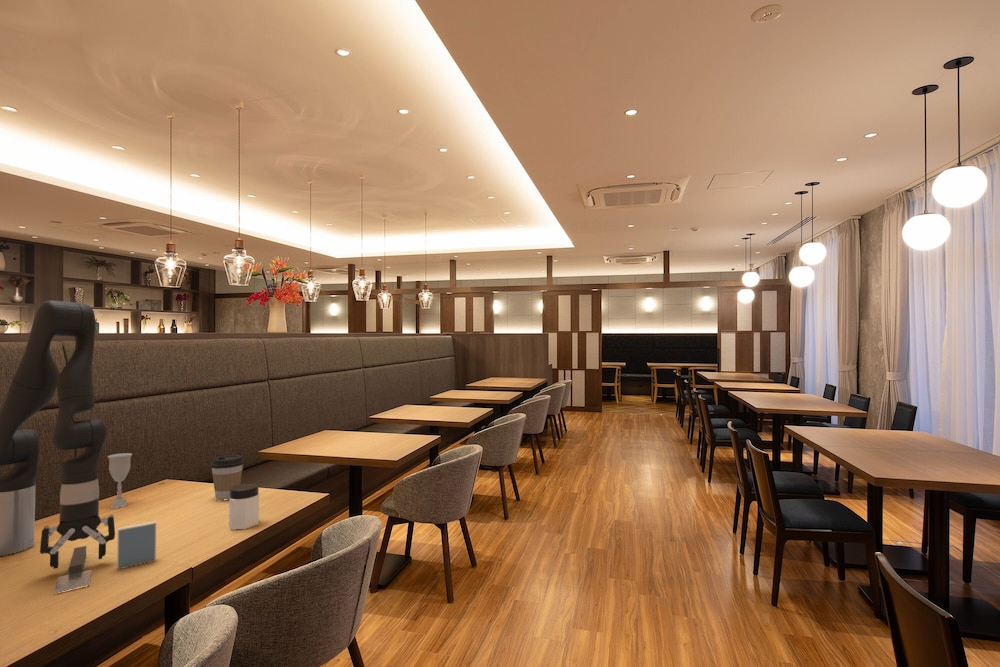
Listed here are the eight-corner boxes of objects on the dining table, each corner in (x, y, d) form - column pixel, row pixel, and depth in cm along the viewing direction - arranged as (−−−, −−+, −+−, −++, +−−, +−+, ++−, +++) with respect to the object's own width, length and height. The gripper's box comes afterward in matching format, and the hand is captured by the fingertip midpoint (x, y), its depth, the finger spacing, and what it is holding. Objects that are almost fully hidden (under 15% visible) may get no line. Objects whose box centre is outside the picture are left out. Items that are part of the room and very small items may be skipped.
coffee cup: (210, 496, 181) (211, 456, 181) (244, 491, 186) (245, 453, 186) (208, 504, 171) (208, 462, 171) (244, 499, 176) (244, 459, 176)
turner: (89, 587, 112) (89, 574, 112) (54, 595, 108) (54, 581, 109) (94, 555, 130) (95, 544, 130) (65, 561, 126) (65, 549, 126)
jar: (263, 519, 155) (264, 482, 156) (253, 529, 147) (253, 490, 147) (235, 521, 154) (235, 483, 155) (222, 530, 146) (223, 491, 147)
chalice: (101, 508, 168) (102, 456, 168) (121, 502, 174) (122, 452, 175) (116, 509, 166) (117, 458, 166) (136, 503, 172) (137, 453, 173)
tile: (116, 569, 121) (117, 530, 121) (117, 567, 122) (117, 528, 122) (155, 561, 126) (156, 522, 126) (155, 558, 127) (156, 520, 127)
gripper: (39, 508, 115) (37, 576, 114) (114, 496, 123) (114, 559, 123) (43, 500, 121) (42, 565, 120) (115, 490, 129) (115, 550, 129)
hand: (78, 562), depth 121 cm, fingers open, 8 cm apart
